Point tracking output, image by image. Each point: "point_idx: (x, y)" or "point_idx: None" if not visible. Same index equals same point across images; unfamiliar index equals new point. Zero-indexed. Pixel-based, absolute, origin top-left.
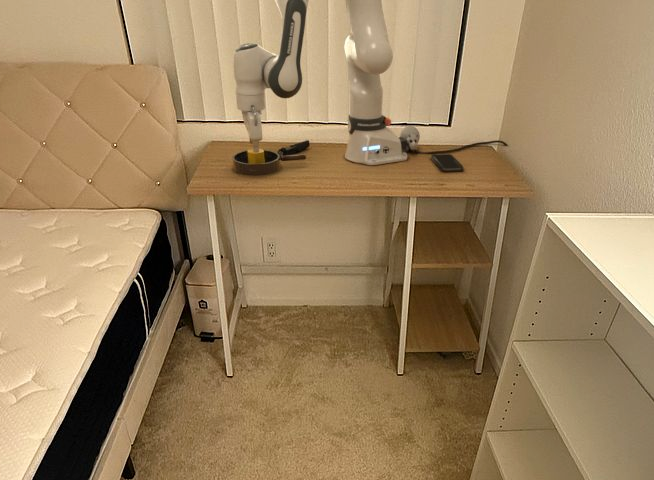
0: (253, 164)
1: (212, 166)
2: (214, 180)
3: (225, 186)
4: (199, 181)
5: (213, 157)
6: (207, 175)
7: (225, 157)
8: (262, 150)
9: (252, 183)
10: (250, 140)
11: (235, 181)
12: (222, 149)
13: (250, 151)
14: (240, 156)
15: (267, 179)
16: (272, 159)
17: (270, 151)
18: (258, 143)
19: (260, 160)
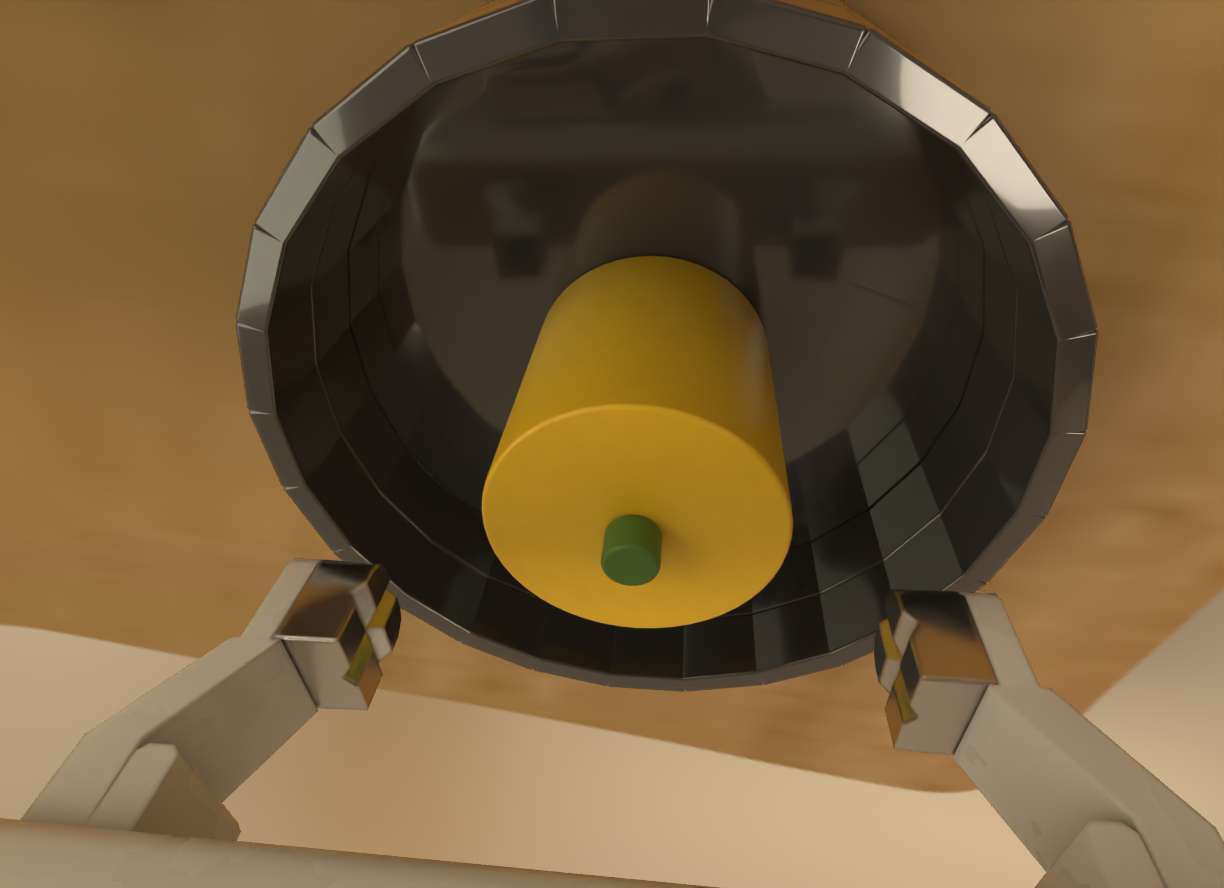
0: (1020, 544)
1: (510, 685)
2: (885, 715)
3: (1098, 678)
4: (859, 778)
5: None
6: (736, 732)
7: (244, 584)
8: (636, 430)
9: (1197, 477)
10: (377, 665)
11: (1009, 602)
12: (4, 576)
13: (651, 599)
14: (441, 566)
15: (1181, 283)
16: (412, 106)
17: (328, 176)
18: (1153, 789)
19: (775, 405)
